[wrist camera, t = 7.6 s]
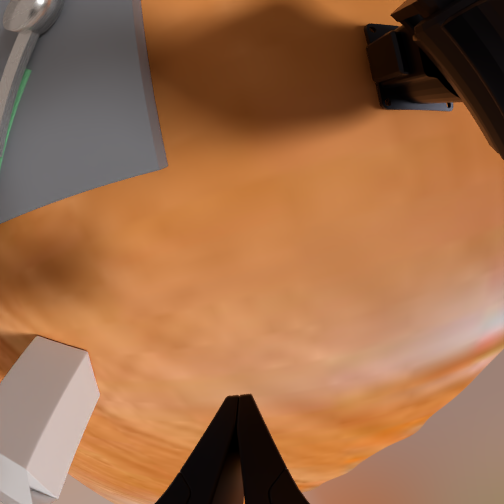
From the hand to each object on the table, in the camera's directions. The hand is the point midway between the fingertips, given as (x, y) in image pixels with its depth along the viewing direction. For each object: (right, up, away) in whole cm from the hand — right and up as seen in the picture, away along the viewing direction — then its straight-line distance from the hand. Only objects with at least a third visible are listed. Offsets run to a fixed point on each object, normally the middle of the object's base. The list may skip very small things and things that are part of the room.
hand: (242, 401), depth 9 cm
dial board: (-17, +19, +6) cm, 26 cm away
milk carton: (-20, -8, +17) cm, 28 cm away
